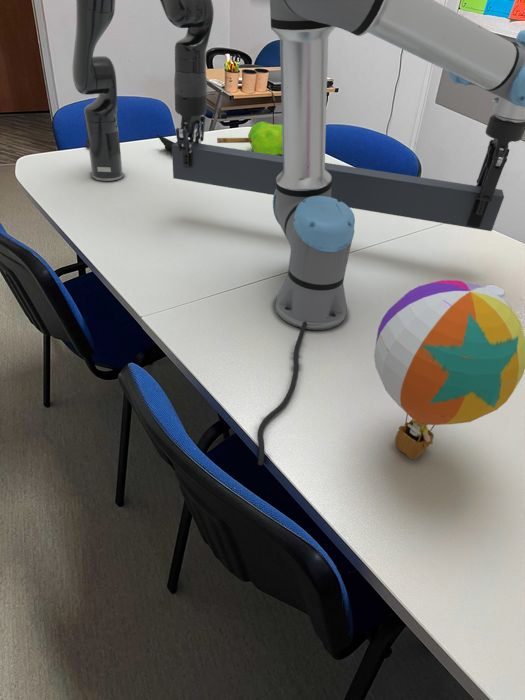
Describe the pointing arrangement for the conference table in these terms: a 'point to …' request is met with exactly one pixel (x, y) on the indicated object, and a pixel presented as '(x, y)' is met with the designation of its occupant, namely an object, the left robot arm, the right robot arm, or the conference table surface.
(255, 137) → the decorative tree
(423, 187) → the bar
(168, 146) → the handheld gaming console
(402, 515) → the conference table surface
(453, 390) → the toy
